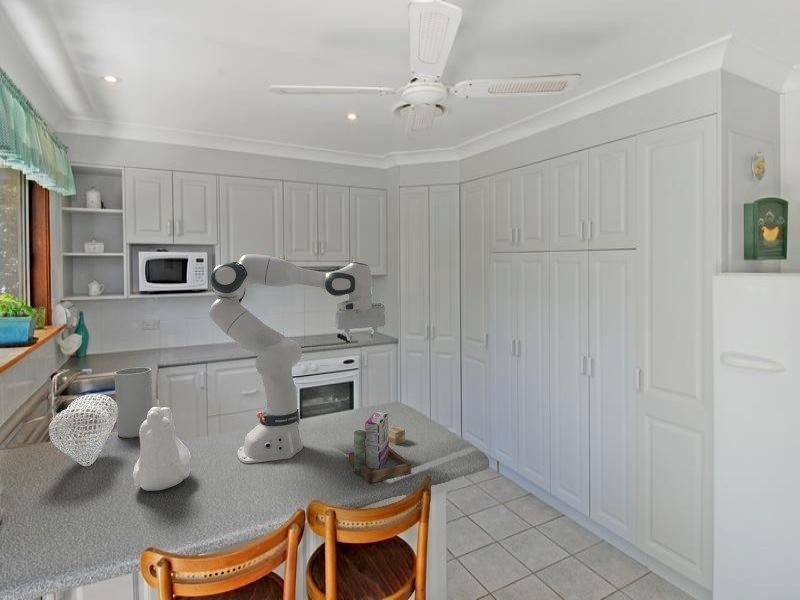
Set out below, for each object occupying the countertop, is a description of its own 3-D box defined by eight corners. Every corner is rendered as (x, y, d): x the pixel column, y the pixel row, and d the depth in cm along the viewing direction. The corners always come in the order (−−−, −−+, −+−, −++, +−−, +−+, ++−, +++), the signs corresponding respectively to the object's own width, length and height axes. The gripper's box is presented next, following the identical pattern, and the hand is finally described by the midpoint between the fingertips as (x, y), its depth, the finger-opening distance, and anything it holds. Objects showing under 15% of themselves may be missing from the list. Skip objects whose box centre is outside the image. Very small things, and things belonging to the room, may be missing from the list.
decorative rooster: (179, 498, 131) (175, 413, 129) (121, 501, 129) (116, 415, 127) (207, 460, 155) (204, 389, 153) (159, 462, 154) (155, 390, 152)
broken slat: (368, 454, 160) (368, 449, 160) (364, 450, 164) (364, 445, 163) (406, 445, 167) (406, 441, 167) (401, 442, 171) (401, 438, 170)
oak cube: (395, 445, 164) (395, 432, 164) (387, 441, 168) (387, 429, 167) (405, 441, 167) (404, 430, 166) (397, 438, 170) (397, 426, 170)
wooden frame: (365, 484, 138) (365, 442, 136) (345, 462, 153) (344, 424, 152) (411, 473, 145) (410, 433, 144) (386, 453, 160) (386, 417, 159)
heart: (74, 452, 163) (70, 391, 161) (124, 446, 168) (121, 387, 166) (44, 488, 136) (39, 416, 135) (104, 480, 142) (100, 410, 140)
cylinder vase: (161, 428, 186) (158, 368, 184) (137, 439, 174) (133, 375, 172) (135, 426, 189) (132, 366, 187) (110, 437, 177) (106, 373, 175)
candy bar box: (375, 457, 157) (374, 411, 156) (389, 459, 156) (388, 412, 155) (364, 472, 146) (364, 422, 145) (379, 473, 145) (379, 423, 144)
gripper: (381, 302, 185) (381, 336, 186) (333, 304, 175) (333, 340, 177) (388, 303, 180) (388, 338, 181) (338, 306, 170) (339, 342, 171)
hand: (361, 339), depth 179 cm, fingers open, 8 cm apart
